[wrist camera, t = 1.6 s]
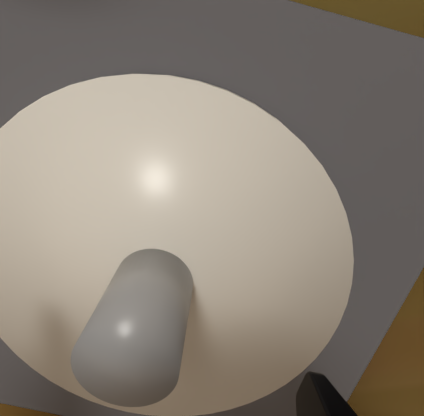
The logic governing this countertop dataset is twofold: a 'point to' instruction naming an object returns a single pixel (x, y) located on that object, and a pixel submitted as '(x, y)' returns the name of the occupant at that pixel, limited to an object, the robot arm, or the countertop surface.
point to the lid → (166, 245)
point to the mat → (273, 104)
